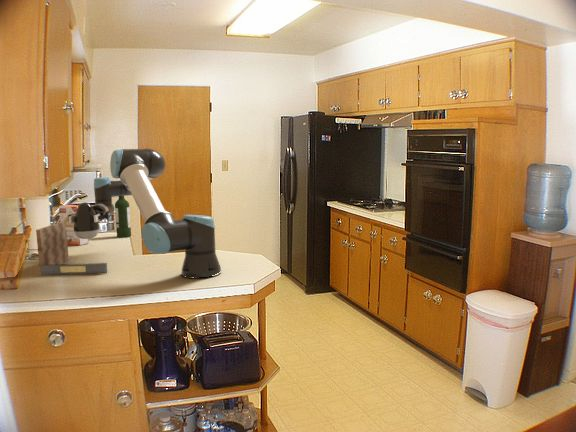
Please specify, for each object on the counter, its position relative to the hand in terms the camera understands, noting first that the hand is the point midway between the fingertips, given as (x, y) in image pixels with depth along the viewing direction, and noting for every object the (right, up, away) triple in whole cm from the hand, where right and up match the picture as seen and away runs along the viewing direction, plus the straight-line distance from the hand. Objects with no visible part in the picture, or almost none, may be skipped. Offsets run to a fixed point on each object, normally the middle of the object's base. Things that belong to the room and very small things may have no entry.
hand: (82, 219), depth 210 cm
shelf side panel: (-15, -20, +7) cm, 26 cm away
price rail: (0, -22, -7) cm, 23 cm away
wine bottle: (-9, -11, +82) cm, 83 cm away
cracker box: (-29, -14, +62) cm, 70 cm away
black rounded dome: (0, -8, +6) cm, 10 cm away
